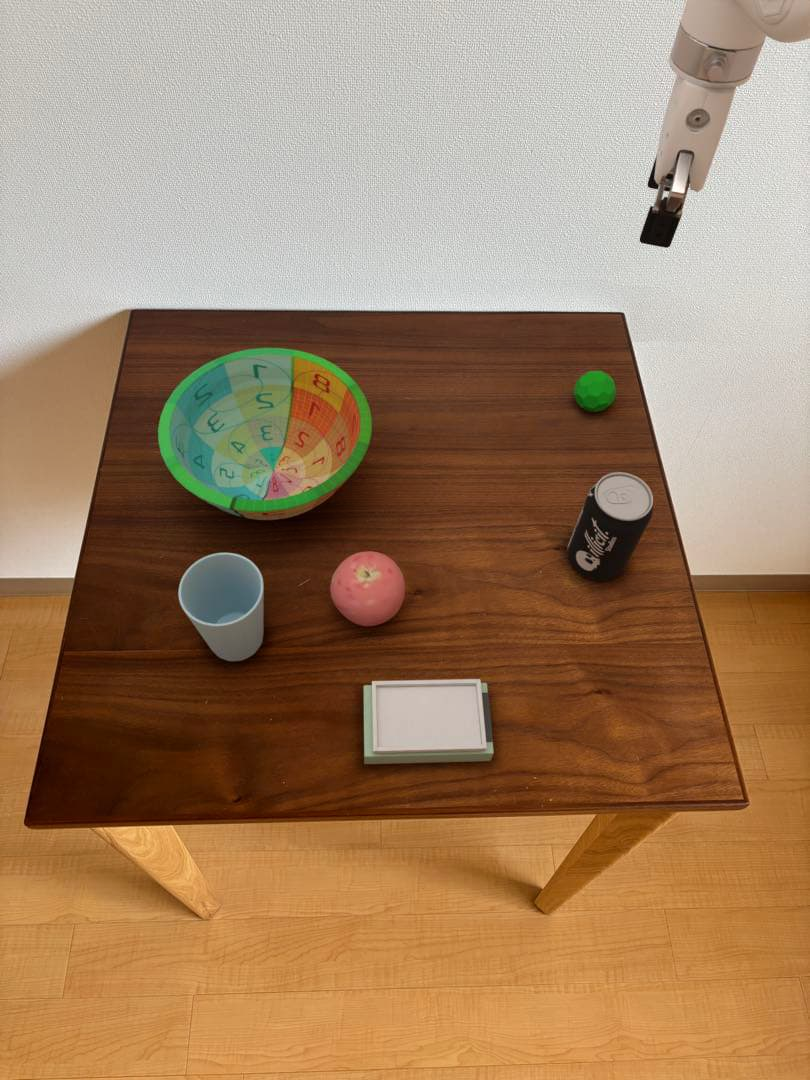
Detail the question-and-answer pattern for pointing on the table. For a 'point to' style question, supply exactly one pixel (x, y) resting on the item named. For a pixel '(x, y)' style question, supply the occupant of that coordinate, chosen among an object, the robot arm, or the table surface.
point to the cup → (225, 604)
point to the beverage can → (610, 525)
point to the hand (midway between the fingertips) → (657, 215)
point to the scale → (427, 721)
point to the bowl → (265, 432)
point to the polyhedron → (595, 391)
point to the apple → (368, 588)
